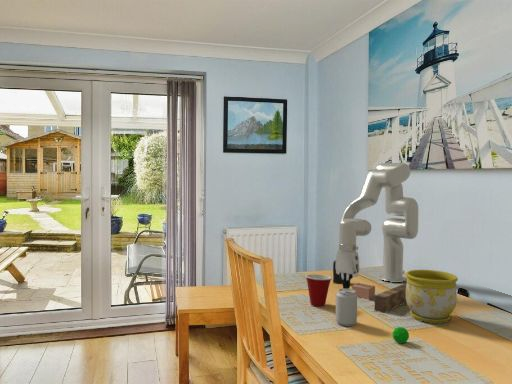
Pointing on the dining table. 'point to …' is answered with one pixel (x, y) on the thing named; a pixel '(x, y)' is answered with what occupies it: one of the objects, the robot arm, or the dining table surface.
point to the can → (346, 307)
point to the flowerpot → (431, 295)
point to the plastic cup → (318, 288)
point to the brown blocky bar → (390, 298)
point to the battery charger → (336, 276)
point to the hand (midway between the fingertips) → (346, 288)
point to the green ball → (400, 335)
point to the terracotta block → (364, 290)
